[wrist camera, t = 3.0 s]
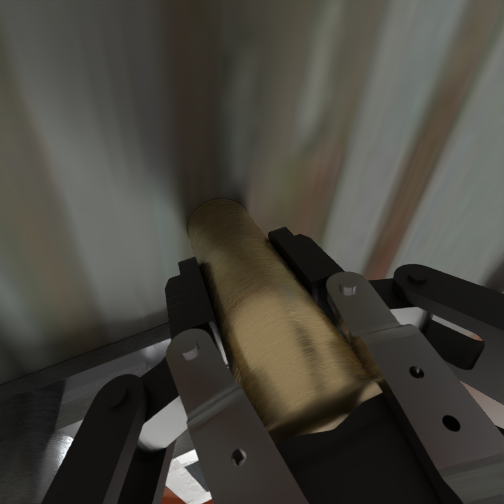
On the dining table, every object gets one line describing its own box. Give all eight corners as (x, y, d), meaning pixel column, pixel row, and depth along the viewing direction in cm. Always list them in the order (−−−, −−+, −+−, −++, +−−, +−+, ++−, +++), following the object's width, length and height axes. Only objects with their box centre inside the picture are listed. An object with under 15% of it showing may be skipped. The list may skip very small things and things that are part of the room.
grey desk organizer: (242, 292, 17) (355, 534, 8) (268, 392, 24) (343, 578, 15) (-29, 392, 14) (-295, 907, 6) (90, 471, 22) (56, 751, 13)
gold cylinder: (243, 190, 14) (392, 360, 6) (253, 243, 15) (376, 427, 7) (179, 209, 13) (243, 428, 5) (198, 262, 15) (267, 482, 7)
